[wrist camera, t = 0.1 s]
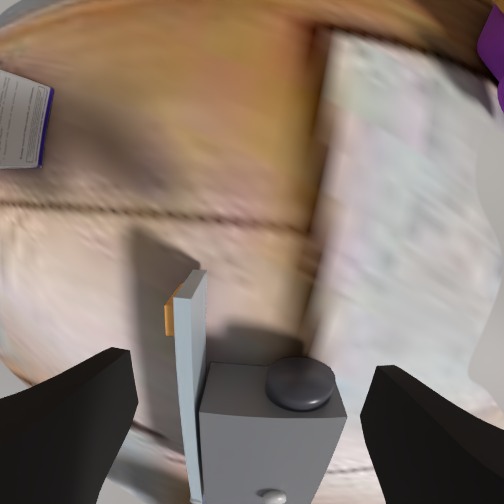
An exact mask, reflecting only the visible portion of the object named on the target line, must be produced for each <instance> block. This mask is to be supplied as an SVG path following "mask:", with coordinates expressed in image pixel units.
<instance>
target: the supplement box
mask: <svg viewBox="0 0 504 504" xmlns="http://www.w3.org/2000/svg"><path fill="white" fill-rule="evenodd" d="M53 95H54V89H53V88H50V87H48V86H46V85H43V84H40V83H37V82H35V81H32V80H29V79H27V78H24V77H21V76H18V75H15V74H12V73H9V72H6V71H3V70H0V169H23V168H41V167H42V165H43V157H44V148H45V140H46V133H47V126H48V120H49V115H50V110H51V105H52V100H53Z"/></svg>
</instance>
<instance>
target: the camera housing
mask: <svg viewBox="0 0 504 504" xmlns="http://www.w3.org/2000/svg"><path fill="white" fill-rule="evenodd" d="M346 420H347V414H346V411H345V408H344V405H343V402H342V399H341V396H340V393H339V391H338V388H337V385H336V382H335V375H334V373H333V371H332V370H331V368H329V367H328V366H327V365H325V364H324V363H322V362H319V361H317V360H314V359H311V358H306V357H287V358H282V359H279V360H277V361H275V362H273V363H272V364H271V365H270V366H253V365H240V364H228V363H217V362H211V366H210V370H209V374H208V378H207V382H206V386H205V390H204V394H203V398H202V402H201V406H200V410H199V421H200V439H201V455H202V469H203V481H204V492H205V503H206V504H311V502H312V500H313V498H314V496H315V494H316V492H317V490H318V487H319V485H320V483H321V481H322V479H323V477H324V474H325V472H326V470H327V467H328V465H329V463H330V460H331V458H332V456H333V453H334V451H335V448H336V446H337V443H338V441H339V438H340V436H341V433H342V430H343V428H344V425H345V422H346Z"/></svg>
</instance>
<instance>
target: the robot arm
mask: <svg viewBox="0 0 504 504" xmlns="http://www.w3.org/2000/svg"><path fill="white" fill-rule="evenodd" d="M137 405H138V397H137V391H136V386H135V380H134V374H133V368H132V362H131V355H130V350H125V349H119V348H114V347H111V348H109V349H106V350H104V351H102V352H100V353H98V354H96V355H94V356H93V357H91V358H89V359H87V360H85V361H83V362H81V363H80V364H78V365H76V366H74V367H72V368H70V369H68V370H66V371H64V372H63V373H61V374H59V375H57V376H55V377H52V378H50V379H48V380H46V381H44V382H42V383H40V384H37V385H35V386H33V387H31V388H29V389H26V390H24V391H21V392H18V393H16V394H13V395H10V396H7V397H4V398H1V399H0V504H96V502H97V499H98V495H99V492H100V490H101V487H102V485H103V483H104V480H105V478H106V476H107V474H108V472H109V470H110V468H111V466H112V464H113V462H114V460H115V458H116V456H117V454H118V452H119V450H120V448H121V446H122V444H123V442H124V440H125V437H126V435H127V433H128V431H129V429H130V427H131V424H132V421H133V418H134V415H135V412H136V408H137ZM360 419H361V424H362V430H363V434H364V439H365V443H366V446H367V449H368V452H369V455H370V458H371V460H372V463H373V466H374V469H375V472H376V474H377V477H378V480H379V483H380V486H381V489H382V492H383V494H384V498H385V501H386V504H504V430H502V429H500V428H498V427H496V426H493V425H491V424H489V423H487V422H485V421H483V420H481V419H479V418H477V417H475V416H473V415H472V414H470V413H468V412H466V411H465V410H463V409H461V408H460V407H458V406H456V405H455V404H453V403H452V402H450V401H448V400H447V399H445V398H444V397H442V396H441V395H439V394H438V393H436V392H435V391H433V390H432V389H430V388H429V387H428V386H426V385H425V384H423V383H422V382H420V381H419V380H417V379H416V378H414V377H413V376H411V375H410V374H408V373H407V372H405V371H404V370H402V369H401V368H399V367H397V366H395V365H386V366H377V367H376V370H375V373H374V376H373V379H372V382H371V385H370V388H369V391H368V394H367V397H366V400H365V403H364V406H363V408H362V411H361V414H360ZM202 504H206V503H205V492H204V495H203V501H202Z"/></svg>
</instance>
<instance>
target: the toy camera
mask: <svg viewBox="0 0 504 504" xmlns="http://www.w3.org/2000/svg"><path fill="white" fill-rule="evenodd" d="M477 52H478V54H479V56H480V58H481V59H482V61H483V62H484V63H485V65H486V66H487V67H488V69H489V70H490V71H491V72H492V74H493V75H494V76H495V77H496V79H497V80H498V81H499V85H498V100H499V104H500V106H501V109H502V111H503V113H504V0H496V1H495V5H494V6H493V8H492V10H491V12H490V14H489V17H488V19H487V21H486V23H485V26H484V28H483V30H482V32H481V34H480V37H479V39H478V42H477Z"/></svg>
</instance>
